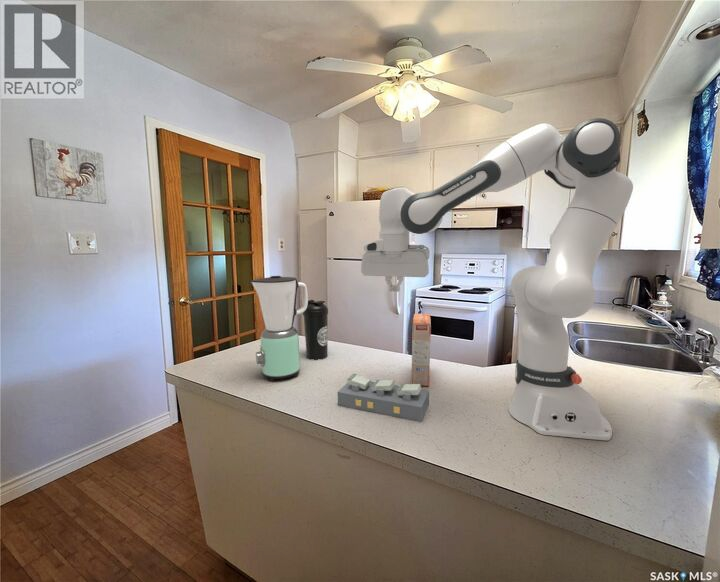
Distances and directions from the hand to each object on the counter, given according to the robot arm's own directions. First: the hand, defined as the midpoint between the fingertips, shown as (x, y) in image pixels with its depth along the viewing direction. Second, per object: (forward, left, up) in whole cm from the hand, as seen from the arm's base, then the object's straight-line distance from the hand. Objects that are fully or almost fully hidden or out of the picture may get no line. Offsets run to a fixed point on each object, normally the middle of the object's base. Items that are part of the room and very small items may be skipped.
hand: (394, 291), depth 99 cm
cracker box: (-6, -11, -31) cm, 34 cm away
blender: (+40, +3, -31) cm, 51 cm away
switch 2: (0, +11, -25) cm, 28 cm away
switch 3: (-8, +11, -25) cm, 29 cm away
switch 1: (+7, +11, -25) cm, 29 cm away
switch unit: (0, +11, -31) cm, 33 cm away
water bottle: (+38, -17, -31) cm, 52 cm away
